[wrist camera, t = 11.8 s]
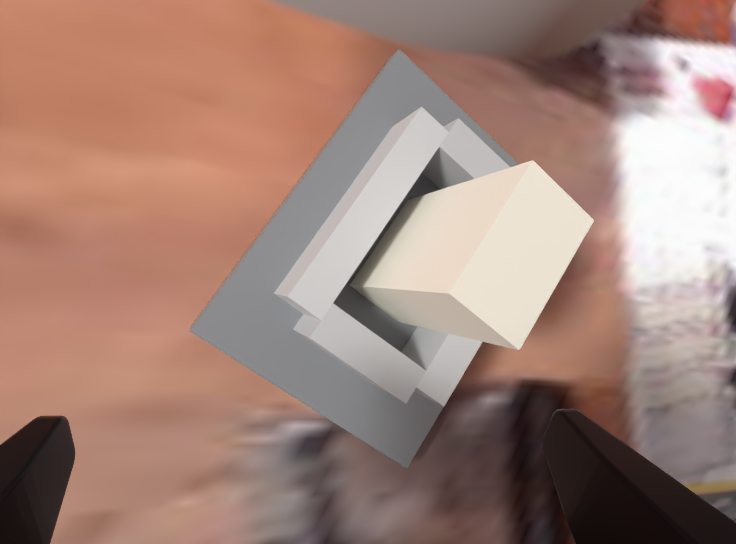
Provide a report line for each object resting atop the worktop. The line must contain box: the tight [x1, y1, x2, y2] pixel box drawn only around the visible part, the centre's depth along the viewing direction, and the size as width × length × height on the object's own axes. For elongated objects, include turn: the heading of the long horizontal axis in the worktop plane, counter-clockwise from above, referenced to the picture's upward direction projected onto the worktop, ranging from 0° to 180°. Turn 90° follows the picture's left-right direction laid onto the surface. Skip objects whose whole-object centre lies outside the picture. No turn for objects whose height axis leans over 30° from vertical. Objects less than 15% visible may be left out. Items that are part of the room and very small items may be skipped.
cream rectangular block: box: [350, 160, 594, 350], centre depth 19 cm, size 6×3×9 cm, turn 144°
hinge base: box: [190, 49, 519, 469], centre depth 23 cm, size 16×12×4 cm
